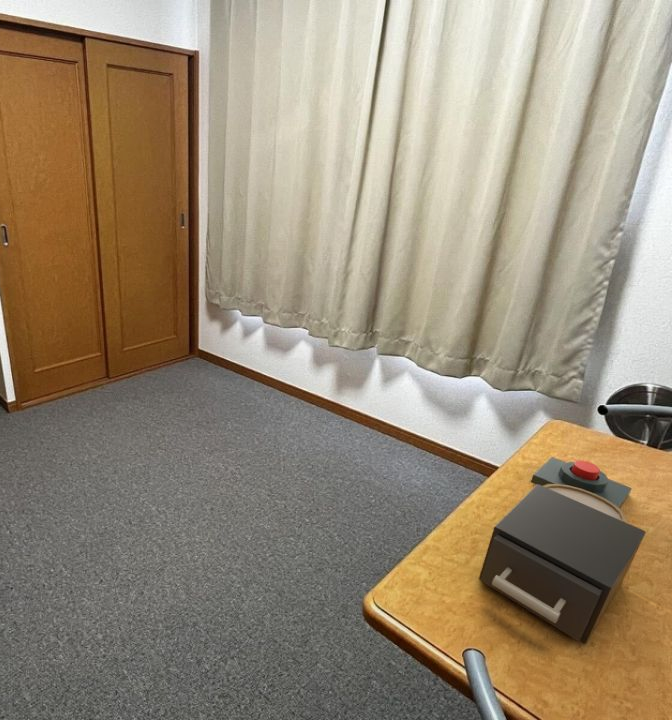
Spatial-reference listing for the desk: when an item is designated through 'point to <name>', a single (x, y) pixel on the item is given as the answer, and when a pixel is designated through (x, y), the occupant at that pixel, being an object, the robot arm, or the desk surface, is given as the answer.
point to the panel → (580, 481)
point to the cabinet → (573, 541)
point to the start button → (585, 470)
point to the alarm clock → (588, 500)
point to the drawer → (541, 586)
